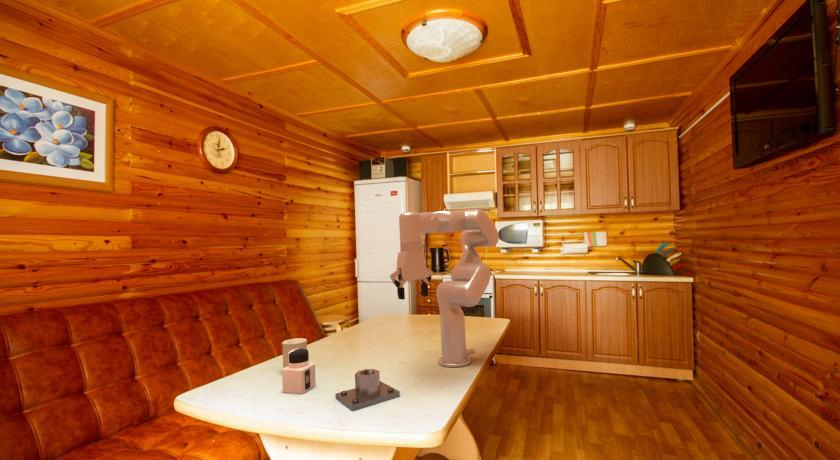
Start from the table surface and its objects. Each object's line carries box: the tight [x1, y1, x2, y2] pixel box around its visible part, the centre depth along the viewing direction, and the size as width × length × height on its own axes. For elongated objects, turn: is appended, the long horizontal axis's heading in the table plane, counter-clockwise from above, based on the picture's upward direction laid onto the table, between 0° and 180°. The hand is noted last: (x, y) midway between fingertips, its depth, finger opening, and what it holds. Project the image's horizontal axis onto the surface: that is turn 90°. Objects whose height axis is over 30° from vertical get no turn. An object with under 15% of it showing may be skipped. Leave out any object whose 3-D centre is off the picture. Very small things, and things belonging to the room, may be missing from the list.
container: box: [281, 348, 317, 395], centre depth 130 cm, size 8×8×13 cm
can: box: [281, 337, 308, 369], centre depth 149 cm, size 9×9×12 cm
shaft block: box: [334, 380, 401, 412], centre depth 120 cm, size 16×12×7 cm
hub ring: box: [354, 368, 381, 397], centre depth 120 cm, size 7×7×6 cm
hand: (413, 297), depth 134 cm, fingers open, 9 cm apart
